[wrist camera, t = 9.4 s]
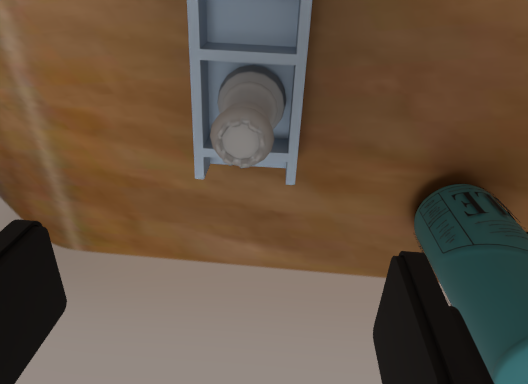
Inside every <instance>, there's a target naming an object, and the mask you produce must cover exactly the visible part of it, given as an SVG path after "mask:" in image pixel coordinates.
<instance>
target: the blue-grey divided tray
mask: <svg viewBox="0 0 528 384" xmlns="http://www.w3.org/2000/svg"><path fill="white" fill-rule="evenodd" d="M311 9H312V0H187V12H188V34H189V55H190V77H191V99H192V121H193V142H194V164H195V179H204V178H205V176H206V173H207V171H208V168H209V166H210V163H211V164H226V163H225V162H223V161H222V160H223V159H222V158H220V157H219V155H218V154H217V153H216V151H215V150H214V149H213V146H212V142H211V138H210V133H211V127H212V124H213V122H214V121H215V119H216V118H217V116H218V115H219V114H220V113H219V109H218V104H217V101H218V95H219V90H220V86H221V84H222V83H223V81H224V80H225V78H226V77H227V75H228V74H230V73H231V72H233V71H234V70H236V69H237V68H239V67H245V66H251V65H254V66H258V67H262V68H266V69H268V70H269V71H270V72H272V73H273V74H274V75H276V76H277V77H278V78H279V80H280V82H281V83H282V85H283V87H284V88H285V95H286V106H285V109H284V113H283V117H282V119H281V120H280V122H279V123H278V124H277V126H276V127H275V128H274V129H273V134H274V143H273V147H272V150H271V152H270V153H269V154H268V156H267V157H266V158H265V159H264V160H263V161H261V162H259V163H257V164H255V165H252V166H259V167H275V168H286V185H295V177H296V167H297V156H298V146H299V135H300V125H301V114H302V104H303V93H304V83H305V72H306V62H307V51H308V41H309V30H310V20H311ZM227 165H228V164H227ZM231 165H232V164H231Z"/></svg>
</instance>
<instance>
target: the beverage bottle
mask: <svg viewBox="0 0 528 384" xmlns="http://www.w3.org/2000/svg"><path fill="white" fill-rule="evenodd" d="M483 189H484V188H483ZM483 189H481V187H480V188H479V187H477V186H473V185H468V184H455V185H449V186H446V187H443V188H441V189H438V190H437V191H435V192H433V193H432V194H430V195H429V196H428V197H427V198H426V199H425V200H424V201H423V202H422V203H421V204H420V206H419V208H418V209H417V212H416V215H415V220H414V228H415V233H416V236H417V238H418V240H419V242H420V244H421V246H422V247H421V246H419V247H421V248H422V249H423V250H424V252H425V254H426V256H427V258H428V260H429V262H430V264H431V266H432V268H433V270H434V272H435V274H436V275H435V276H437V278H438V280H439V282H440V284H441V285H442V287H443V289H444V291H445V293H446V295H447V297H448V299H449V301H450V303H451V305H452V306H453V307H456V308H457V309H458V310H459V311H460V313H461V315H462V317H463V319H464V321H465V323H466V325H467V327H468V329H469V332H470V334H471V336H472V338H473V340H474V342H475V344H476V346H477V348H478V350H479V353H480V355H481V357H482V359H483V361H484V363H485V365H486V367H487V369H488V372H489V374H490V376H491V378H492V380H493V382H494V384H528V231H527V232H525V231H524V230H523V229H522V228H521V225H519V224H518V223H517V222H516V221H515V219H514V218H513V217H512V216H511V214H512V213H511V212H510V211H509V210H508V209H507V208H506V207H505V206H504V205H503V204H502V203H501V202H500V201H499V200H498V198H495V197H494V198H495V199H496V200H498V201H499V202H500V204H502V205H503V206H504V207H505V208H506V210H507V211H506V210H505V209H504V208H503V207H502V205H500V204H499V203H498V202H497V201H496V200H495V199H494V198H493V197H492V195H493V193H492V195H491V194H489V193H488V192H487V191H485V190H483ZM508 211H509V212H510V213H511V214H510V213H509V212H508ZM507 212H508V213H507ZM512 215H513V214H512ZM513 216H514V215H513ZM514 217H515V216H514ZM515 218H516V217H515ZM516 219H517V218H516ZM517 220H518V219H517ZM518 221H519V220H518ZM519 222H520V221H519ZM520 223H521V222H520ZM417 243H418V242H417ZM418 245H419V244H418ZM421 248H420V249H421ZM421 251H422V250H421ZM424 252H422V253H424ZM441 290H442V289H441ZM444 297H445V296H444Z"/></svg>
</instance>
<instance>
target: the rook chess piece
mask: <svg viewBox="0 0 528 384" xmlns="http://www.w3.org/2000/svg"><path fill="white" fill-rule="evenodd" d="M217 104H218V109H219V113H220V114H219V115H218V116H217V118H216V119H215V121H214V122H213V124H212V127H211V133H210V138H211V142H212V146H213V149H214V150H215V151H216V153H217V154H218V155H219V157H220V158H222V159H223V160H222V161H223V162H225V163H226V164H228V165H229V166H231V164H232V165H236V166H240V168H247V167H250V166H252V165H255V164H257V163H259V162H261V161H263V160H264V159H265V158H266V157H267V156H268V154H269V153H270V152H271V150H272V147H273V143H274V134H273V129H274V128H275V127H276V126H277V124H278V123H279V122H280V120H281V119H282V117H283V113H284V109H285V106H286V95H285V88H284V87H283V85H282V83H281V82H280V80H279V78H278V77H277V76H276V75H274V74H273V73H272V72H270V71H269V70H268V69H266V68H262V67H258V66H254V65H251V66H245V67H239V68H237V69H236V70H234V71H233V72H231V73H230V74H228V75H227V77H226V78H225V80H224V81H223V83H222V84H221V86H220V90H219V95H218V101H217Z"/></svg>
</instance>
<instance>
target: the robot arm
mask: <svg viewBox="0 0 528 384" xmlns="http://www.w3.org/2000/svg"><path fill="white" fill-rule="evenodd" d="M66 302H67V300H66V296H65V292H64V288H63V284H62V281H61V277H60V273H59V270H58V266H57V262H56V259H55V255H54V252H53V248H52V244H51V241H50V237H49V233H48V230H47V229H46V228H45V227H43V226H42V224H41V223H40V222H38V221H30V220H14V221H12V222H11V223H10V224H8V225H7V226H6V227H5V228H4V229H3V230H2V231H1V232H0V384H15V382H16V381H17V379H18V378H19V376H20V375H21V373H22V372H23V371H24V369H25V368H26V366H27V365H28V363H29V362H30V360H31V359H32V358H33V356H34V355H35V353H36V352H37V350H38V349H39V347H40V346H41V344H42V343H43V342H44V340H45V338H46V337H47V336H48V334H49V333H50V331H51V330H52V328H53V327H54V326H55V324H56V323H57V321H58V320H59V318H60V317H61V315H62V314H63V312H64V310H65V308H66ZM373 339H374V345H375V350H376V355H377V360H378V365H379V370H380V374H381V380H382V384H494V382H493V380H492V378H491V376H490V374H489V372H488V369H487V367H486V365H485V363H484V361H483V359H482V357H481V355H480V353H479V350H478V348H477V346H476V344H475V342H474V340H473V338H472V336H471V334H470V332H469V329H468V327H467V325H466V323H465V321H464V319H463V317H462V315H461V313H460V311H459V310H458V309H457V308H456V307H453V306H448V303H447V301H446V299H445V297H444V294H443V292H442V290H441V288H440V285H439V283H438V281H437V279H436V277H435V274H434V272H433V270H432V268H431V265H430V263H429V261H428V259H427V257H426V255H425V254H424V253H419V252H407V251H401V252H400V254H399V256H393V257H392V259H391V262H390V266H389V270H388V274H387V278H386V282H385V285H384V289H383V293H382V297H381V301H380V305H379V308H378V312H377V316H376V320H375V324H374V328H373Z"/></svg>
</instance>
